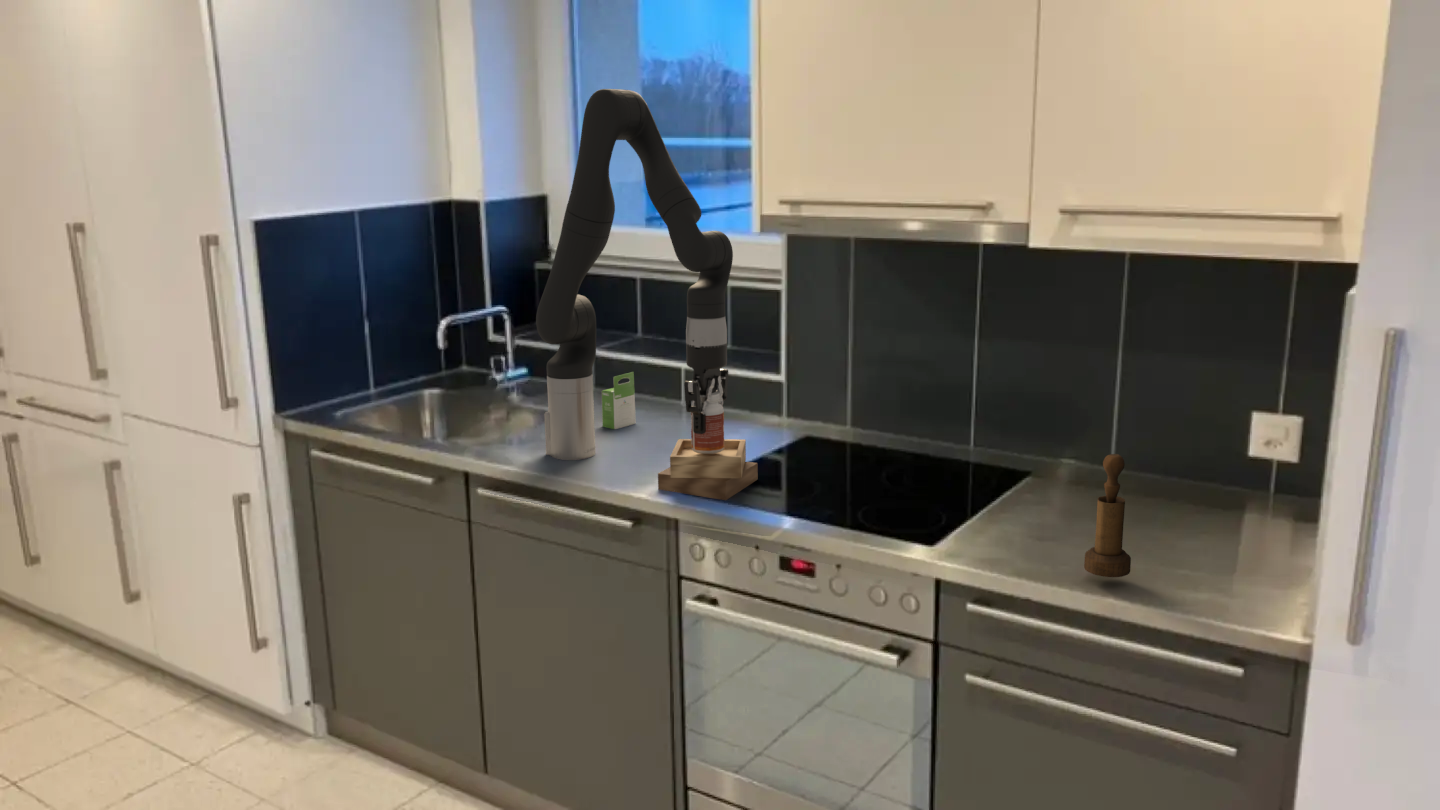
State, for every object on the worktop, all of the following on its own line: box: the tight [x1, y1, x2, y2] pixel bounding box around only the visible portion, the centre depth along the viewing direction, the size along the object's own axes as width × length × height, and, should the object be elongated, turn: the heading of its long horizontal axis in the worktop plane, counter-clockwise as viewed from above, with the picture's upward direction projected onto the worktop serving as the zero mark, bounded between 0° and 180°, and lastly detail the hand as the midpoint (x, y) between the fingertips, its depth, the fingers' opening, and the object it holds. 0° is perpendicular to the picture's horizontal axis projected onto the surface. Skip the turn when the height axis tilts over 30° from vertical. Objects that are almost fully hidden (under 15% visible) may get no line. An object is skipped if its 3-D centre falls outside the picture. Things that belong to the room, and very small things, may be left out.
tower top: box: [669, 438, 747, 478], centre depth 225 cm, size 13×13×4 cm
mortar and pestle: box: [1083, 453, 1132, 578], centre depth 178 cm, size 7×6×18 cm
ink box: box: [601, 371, 637, 430], centre depth 266 cm, size 7×4×13 cm, turn 141°
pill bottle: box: [690, 391, 725, 454], centre depth 223 cm, size 6×6×11 cm
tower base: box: [657, 461, 759, 501], centre depth 226 cm, size 14×14×4 cm
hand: (707, 428), depth 224 cm, fingers closed on pill bottle, 6 cm apart
